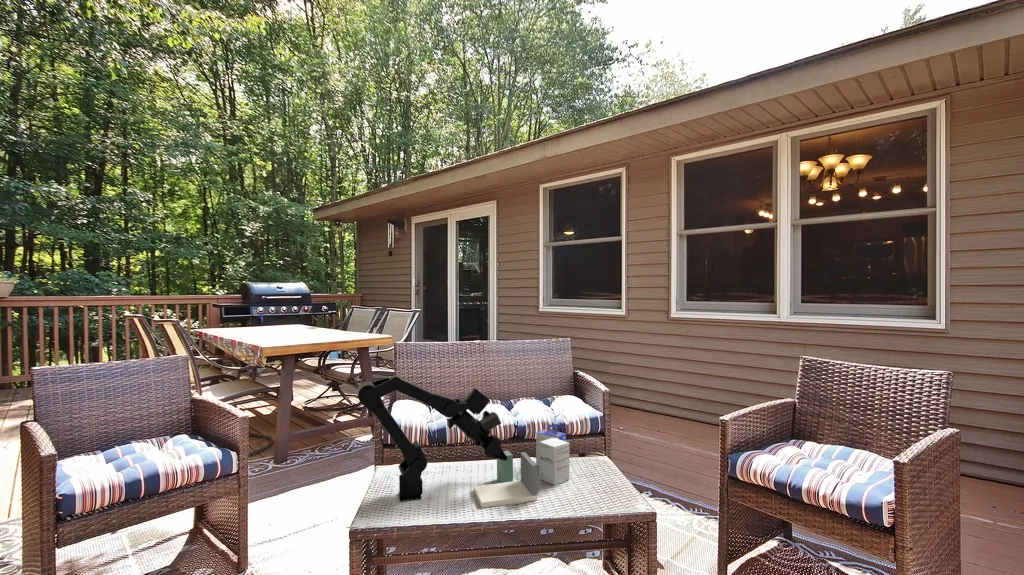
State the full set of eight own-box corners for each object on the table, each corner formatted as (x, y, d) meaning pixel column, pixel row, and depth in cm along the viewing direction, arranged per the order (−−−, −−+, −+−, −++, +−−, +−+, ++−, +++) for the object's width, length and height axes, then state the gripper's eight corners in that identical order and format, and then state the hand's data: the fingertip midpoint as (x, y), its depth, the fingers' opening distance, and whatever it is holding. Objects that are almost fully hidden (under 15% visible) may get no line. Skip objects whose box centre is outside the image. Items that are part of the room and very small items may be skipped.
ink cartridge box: (567, 467, 166) (567, 426, 166) (559, 472, 162) (558, 430, 162) (544, 461, 172) (543, 422, 172) (535, 466, 168) (535, 425, 168)
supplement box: (538, 479, 156) (538, 441, 156) (554, 473, 161) (554, 436, 161) (554, 486, 150) (554, 446, 150) (570, 480, 155) (570, 441, 155)
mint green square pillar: (501, 484, 152) (501, 456, 152) (497, 479, 156) (496, 452, 157) (513, 482, 154) (512, 454, 154) (508, 477, 158) (508, 450, 158)
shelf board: (481, 507, 136) (481, 471, 136) (473, 491, 147) (473, 457, 147) (537, 500, 140) (536, 465, 140) (525, 484, 152) (525, 452, 152)
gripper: (494, 412, 144) (528, 443, 148) (477, 399, 162) (507, 427, 166) (470, 441, 141) (505, 472, 145) (455, 425, 159) (486, 453, 163)
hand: (501, 454), depth 155 cm, fingers open, 9 cm apart
